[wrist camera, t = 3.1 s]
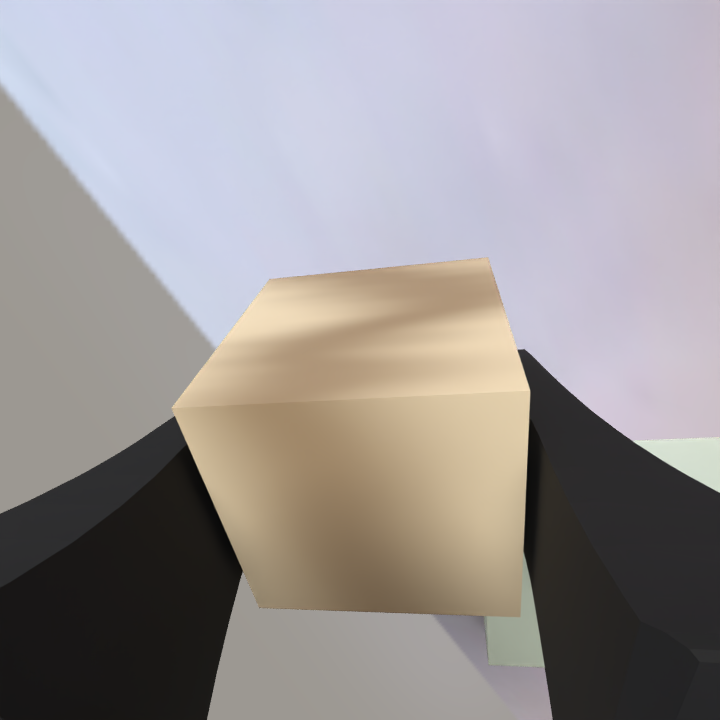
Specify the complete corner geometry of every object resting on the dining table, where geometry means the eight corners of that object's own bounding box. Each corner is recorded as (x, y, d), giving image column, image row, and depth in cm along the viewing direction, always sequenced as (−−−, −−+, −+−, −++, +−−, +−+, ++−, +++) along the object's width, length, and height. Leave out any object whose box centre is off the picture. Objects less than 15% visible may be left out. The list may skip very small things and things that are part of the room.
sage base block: (737, 430, 18) (809, 512, 15) (688, 587, 23) (733, 675, 20) (472, 441, 20) (482, 517, 17) (480, 584, 25) (488, 665, 22)
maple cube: (487, 257, 10) (529, 390, 6) (489, 435, 13) (520, 617, 8) (269, 279, 11) (171, 407, 7) (312, 440, 14) (259, 608, 9)
